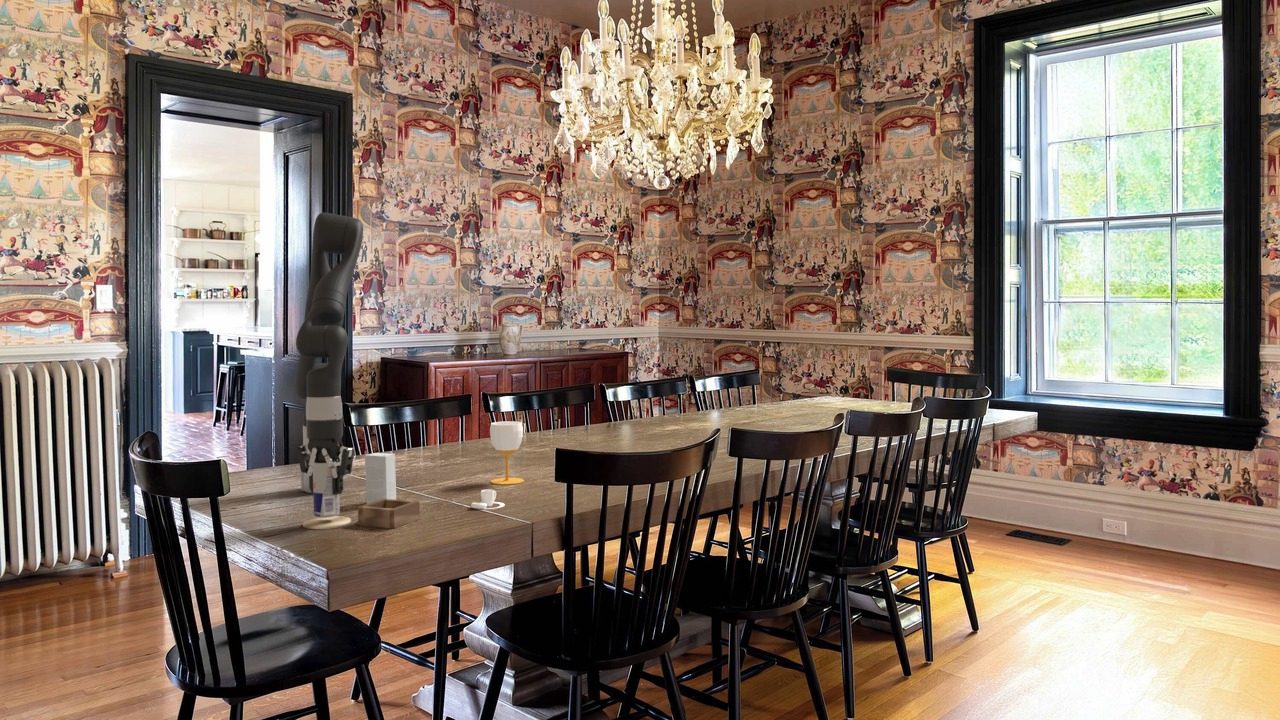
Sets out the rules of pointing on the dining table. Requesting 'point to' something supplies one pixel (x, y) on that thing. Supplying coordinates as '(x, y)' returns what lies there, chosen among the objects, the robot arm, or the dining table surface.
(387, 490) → the skincare box
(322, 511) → the energy drink
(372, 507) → the walnut holder
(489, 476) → the dining table surface
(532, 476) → the dining table surface
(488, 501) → the teacup and saucer
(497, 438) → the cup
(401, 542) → the dining table surface
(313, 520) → the cork coaster
